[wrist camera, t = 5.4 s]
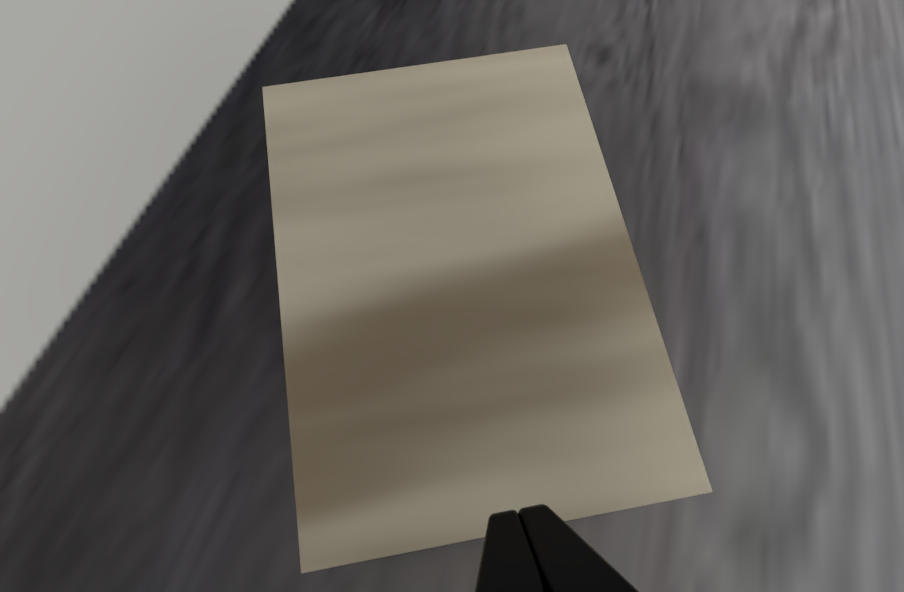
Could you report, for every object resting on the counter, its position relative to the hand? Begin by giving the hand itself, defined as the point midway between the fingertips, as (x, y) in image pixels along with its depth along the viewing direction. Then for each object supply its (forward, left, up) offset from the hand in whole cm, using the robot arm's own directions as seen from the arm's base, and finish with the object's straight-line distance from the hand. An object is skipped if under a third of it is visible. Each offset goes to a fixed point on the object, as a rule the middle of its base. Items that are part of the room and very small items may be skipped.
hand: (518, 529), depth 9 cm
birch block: (0, 0, -4) cm, 4 cm away
